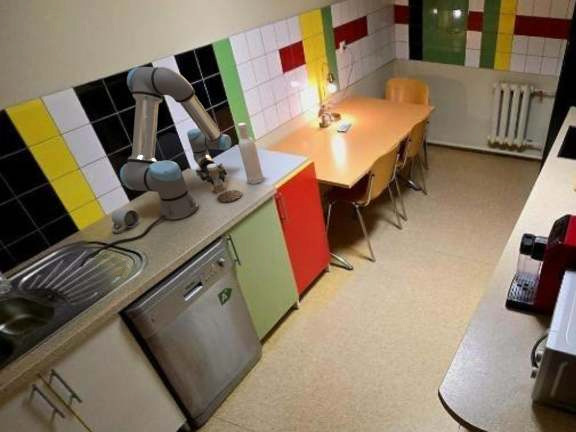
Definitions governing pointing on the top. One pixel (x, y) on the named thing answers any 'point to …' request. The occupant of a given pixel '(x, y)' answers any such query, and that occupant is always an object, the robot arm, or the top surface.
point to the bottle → (249, 156)
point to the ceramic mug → (124, 219)
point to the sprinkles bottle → (215, 177)
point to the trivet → (229, 196)
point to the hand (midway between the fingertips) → (218, 181)
